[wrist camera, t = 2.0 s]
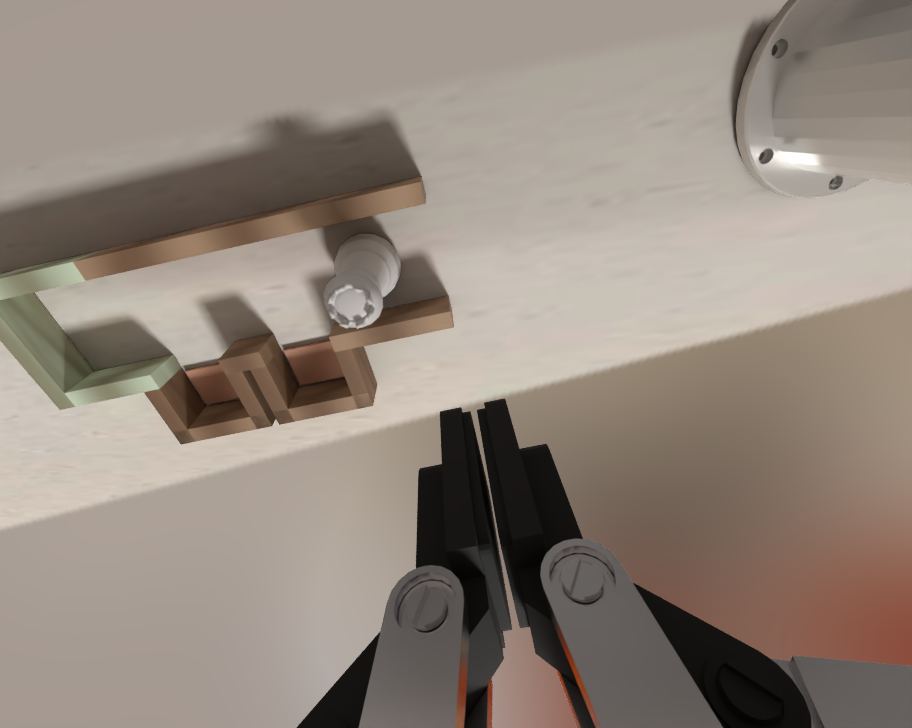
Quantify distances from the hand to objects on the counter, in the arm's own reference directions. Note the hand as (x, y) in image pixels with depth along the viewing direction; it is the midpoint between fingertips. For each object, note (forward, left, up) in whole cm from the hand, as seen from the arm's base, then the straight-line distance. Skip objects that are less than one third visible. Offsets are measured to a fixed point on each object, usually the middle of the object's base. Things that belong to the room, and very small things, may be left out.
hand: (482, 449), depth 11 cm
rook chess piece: (+5, +3, -21) cm, 22 cm away
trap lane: (+12, +9, -21) cm, 26 cm away
